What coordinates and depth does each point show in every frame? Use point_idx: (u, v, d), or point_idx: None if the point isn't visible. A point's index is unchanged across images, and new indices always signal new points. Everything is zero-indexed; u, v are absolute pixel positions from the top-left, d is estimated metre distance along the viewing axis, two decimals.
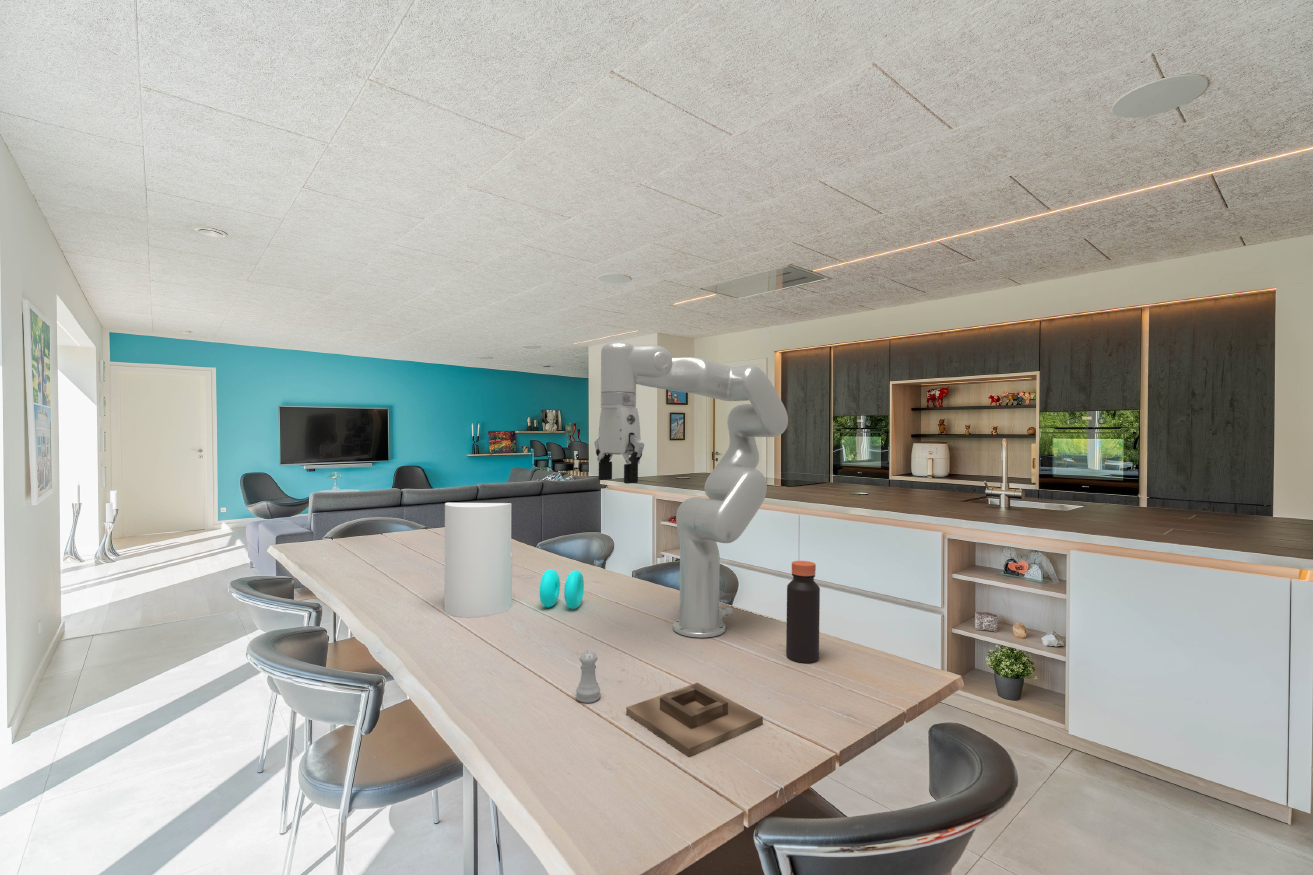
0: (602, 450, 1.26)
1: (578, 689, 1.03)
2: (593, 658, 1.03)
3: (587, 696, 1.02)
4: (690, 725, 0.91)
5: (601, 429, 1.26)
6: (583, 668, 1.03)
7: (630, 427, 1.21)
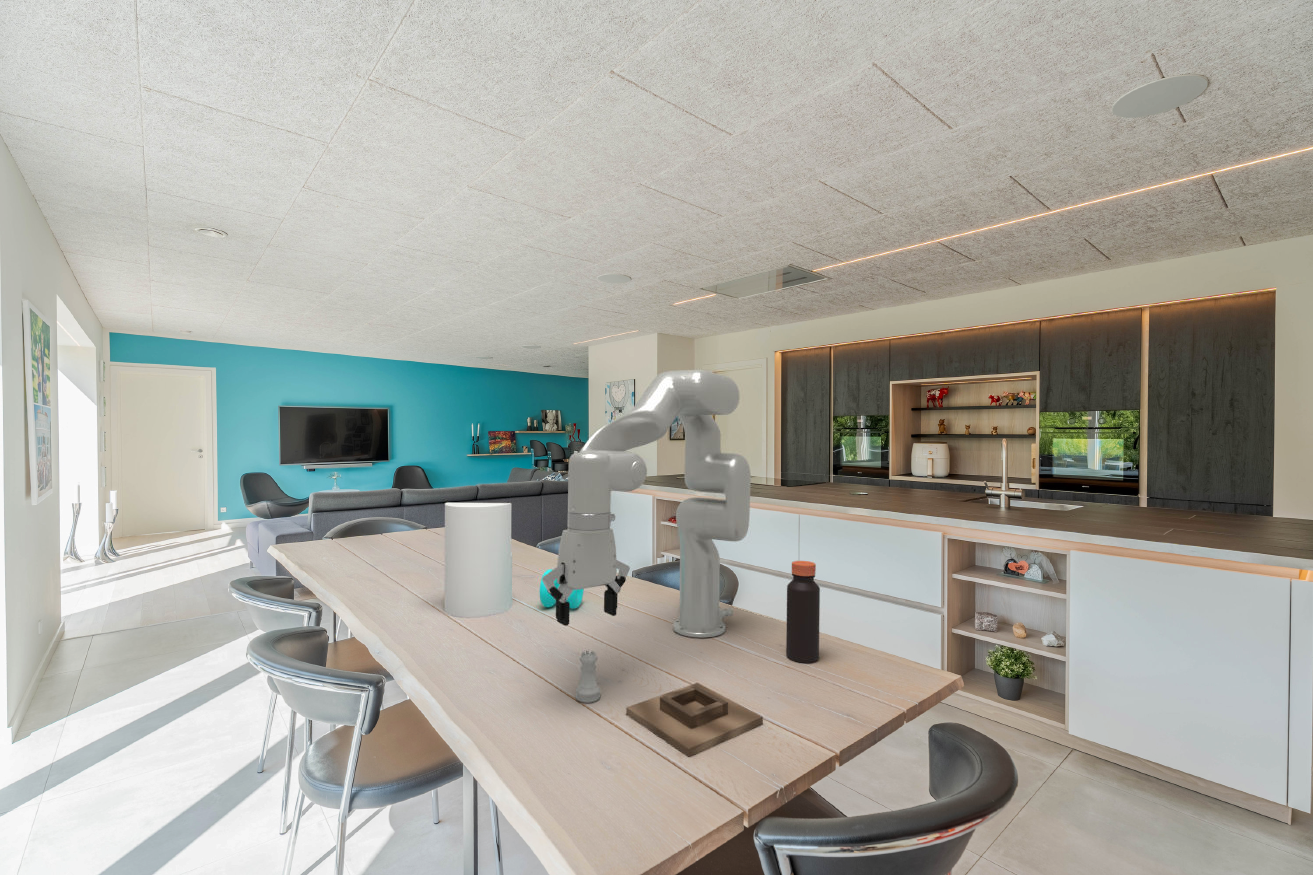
0: (579, 586, 1.00)
1: (578, 689, 1.03)
2: (593, 658, 1.03)
3: (587, 696, 1.02)
4: (690, 725, 0.91)
5: (580, 559, 1.00)
6: (583, 668, 1.03)
7: None
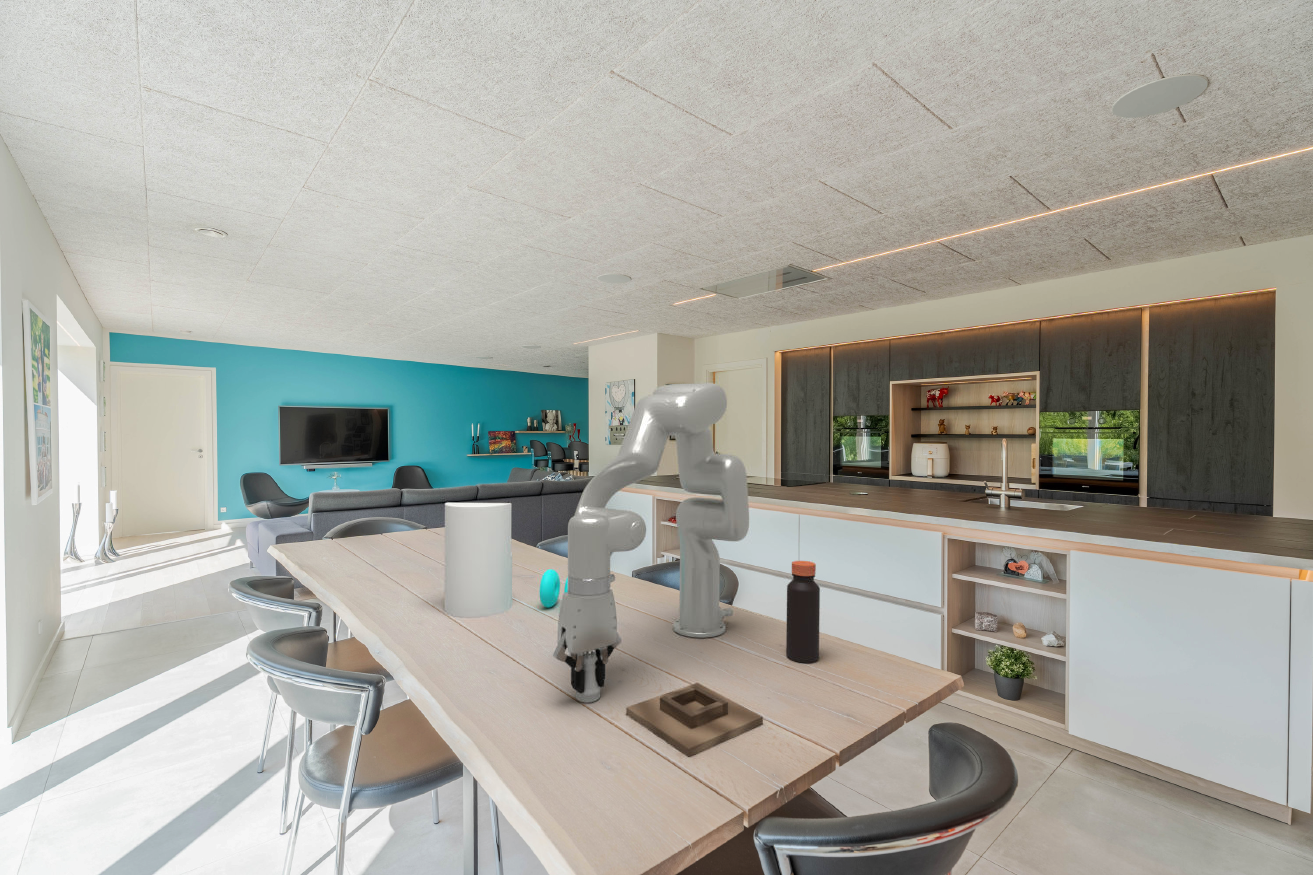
0: (579, 650, 1.01)
1: None
2: (593, 658, 1.03)
3: (587, 696, 1.02)
4: (690, 725, 0.91)
5: (580, 625, 1.00)
6: (583, 668, 1.03)
7: None
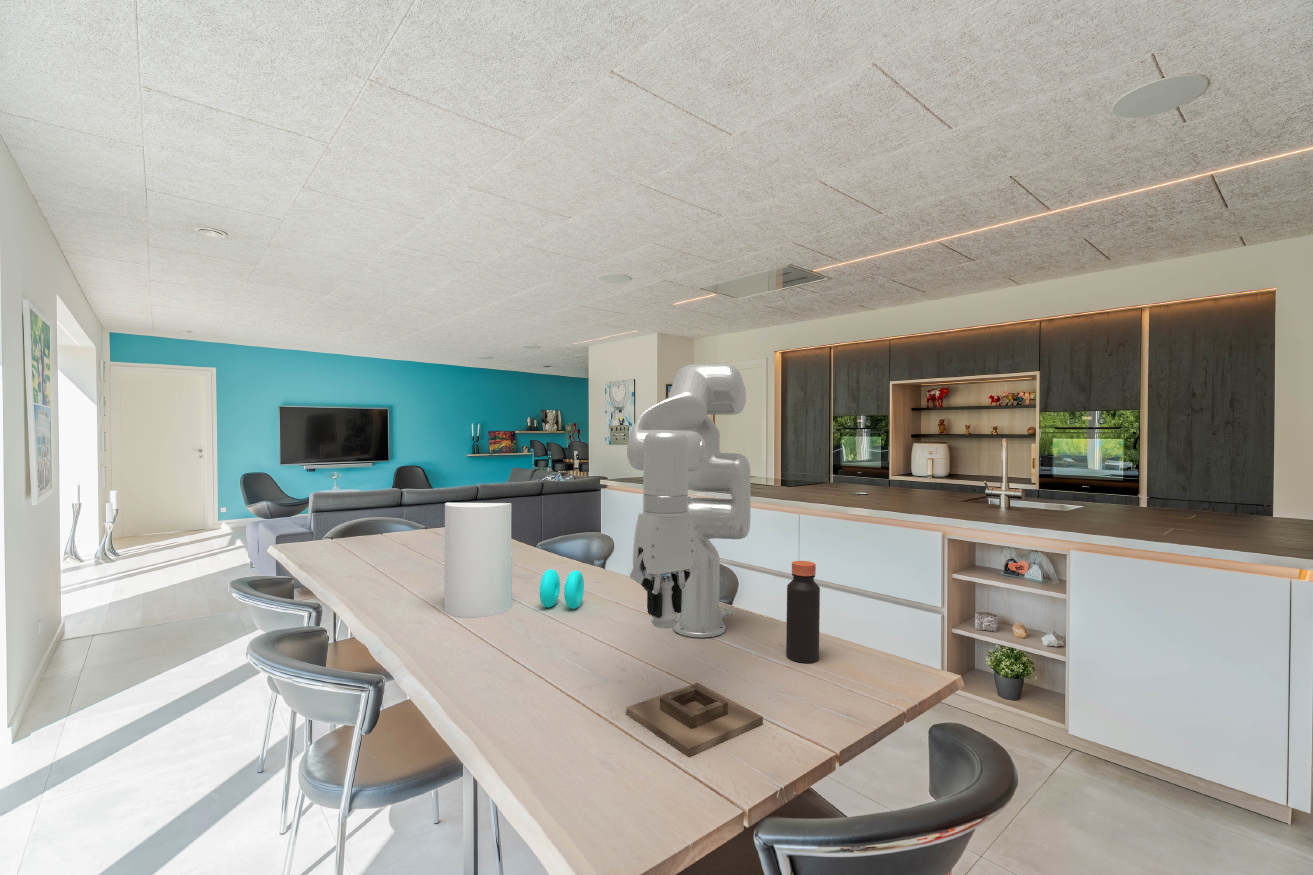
0: (657, 572, 0.95)
1: None
2: (670, 582, 0.98)
3: (664, 621, 0.97)
4: (690, 725, 0.91)
5: (659, 544, 0.95)
6: (660, 592, 0.98)
7: None
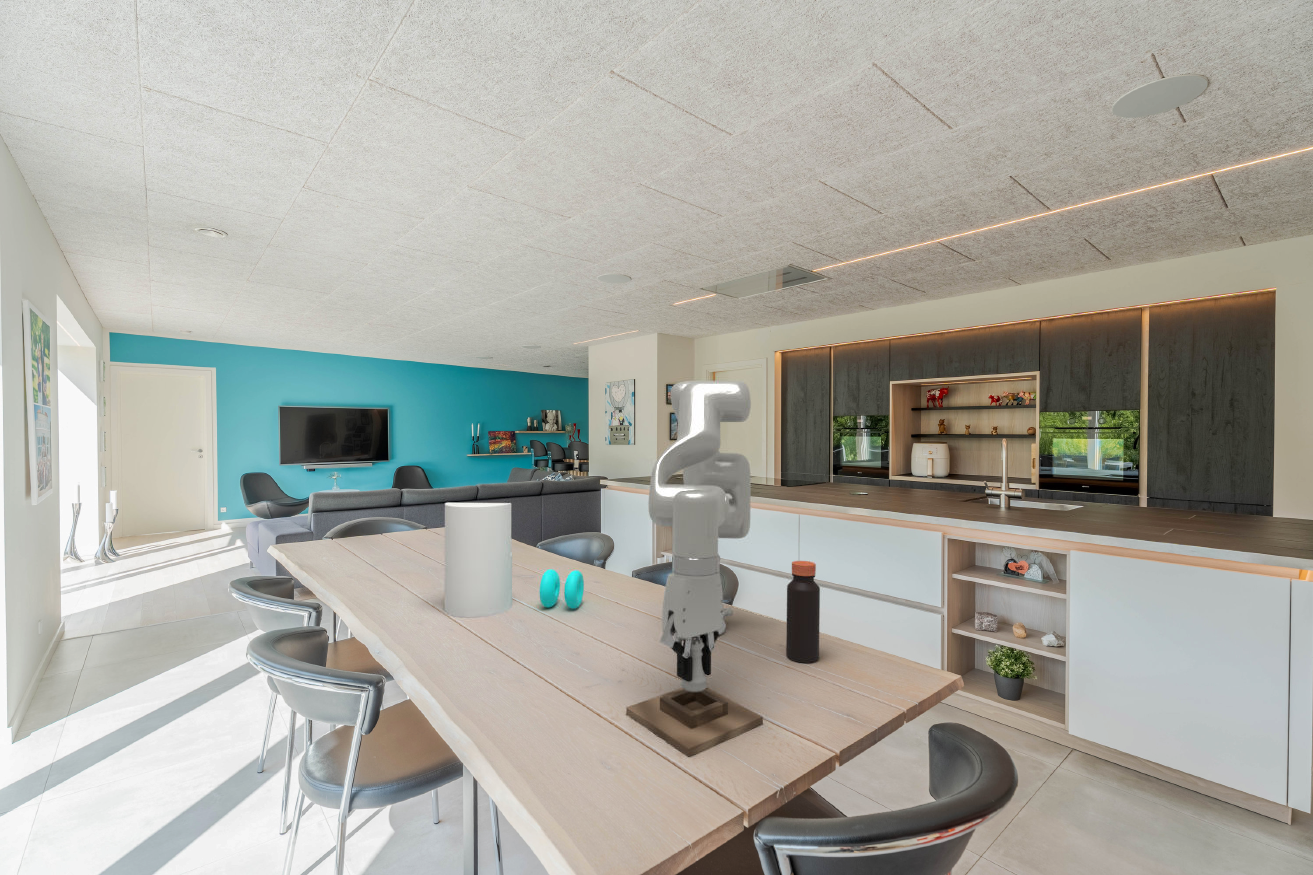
0: (688, 635, 0.93)
1: None
2: (700, 644, 0.96)
3: (695, 685, 0.95)
4: (690, 725, 0.91)
5: (690, 607, 0.93)
6: (690, 655, 0.96)
7: None
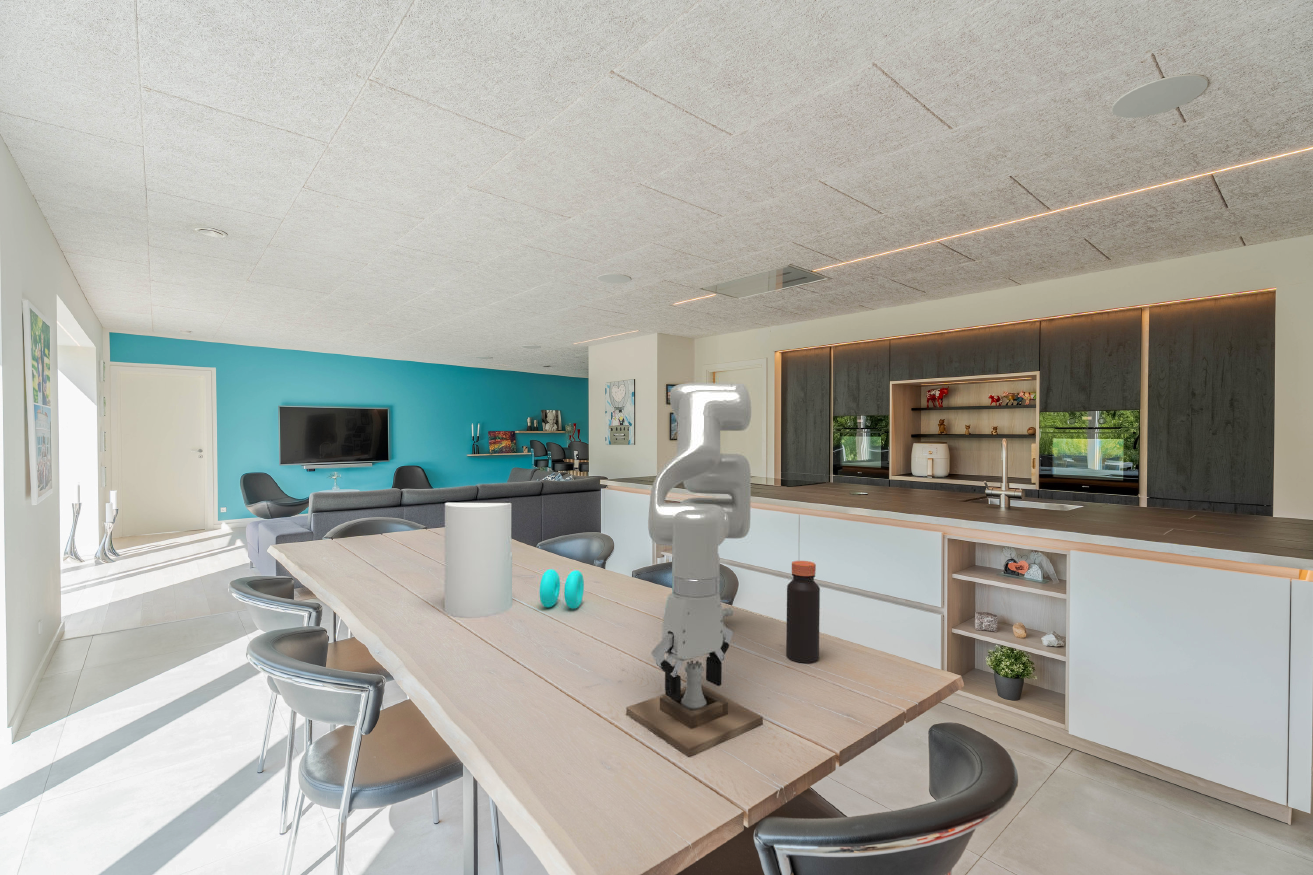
0: (688, 656, 0.93)
1: (684, 702, 0.96)
2: (700, 668, 0.96)
3: (695, 709, 0.95)
4: (690, 725, 0.91)
5: (689, 629, 0.93)
6: (689, 679, 0.96)
7: None
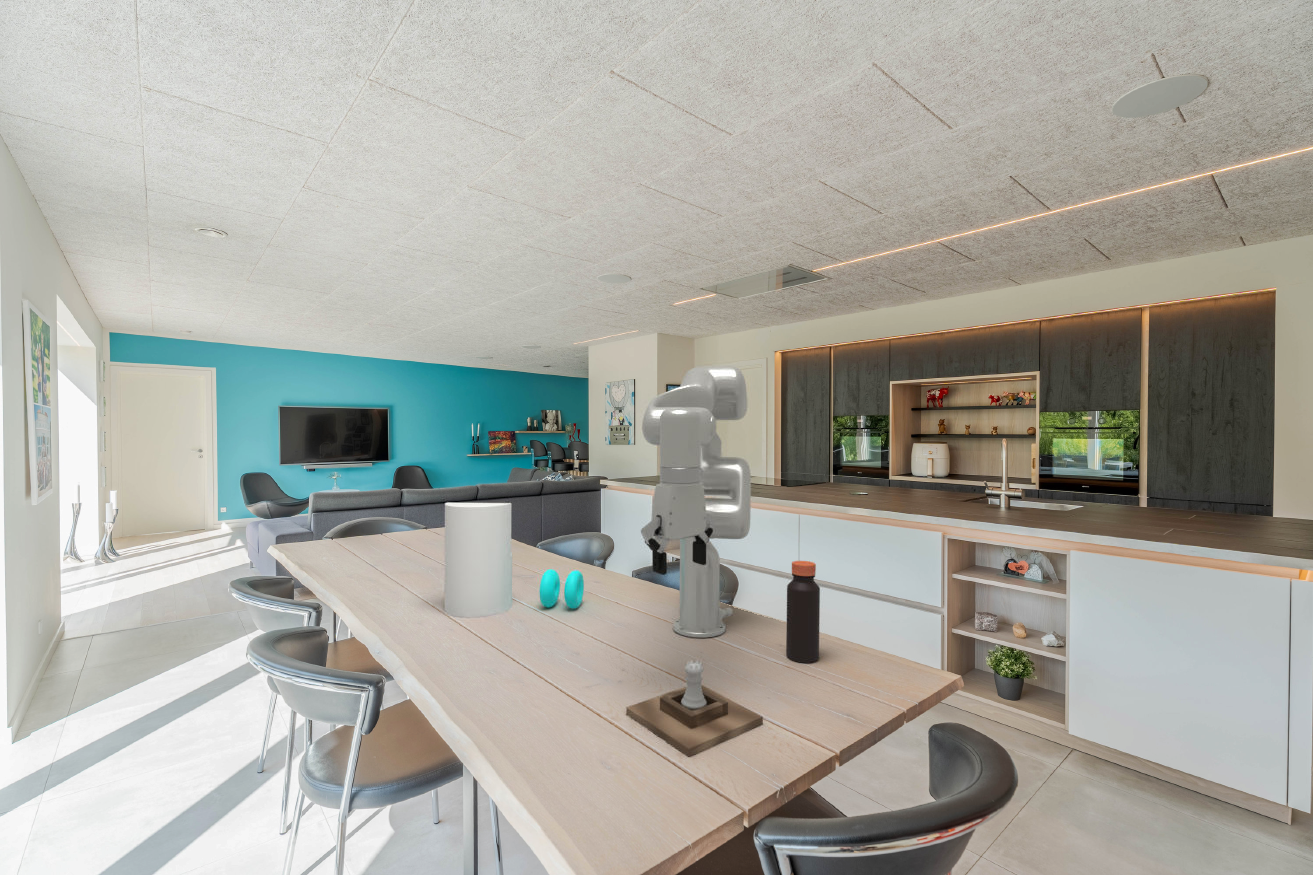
0: (675, 537, 1.04)
1: (684, 702, 0.96)
2: (700, 668, 0.96)
3: (695, 709, 0.95)
4: (690, 725, 0.91)
5: (676, 512, 1.04)
6: (689, 679, 0.96)
7: None
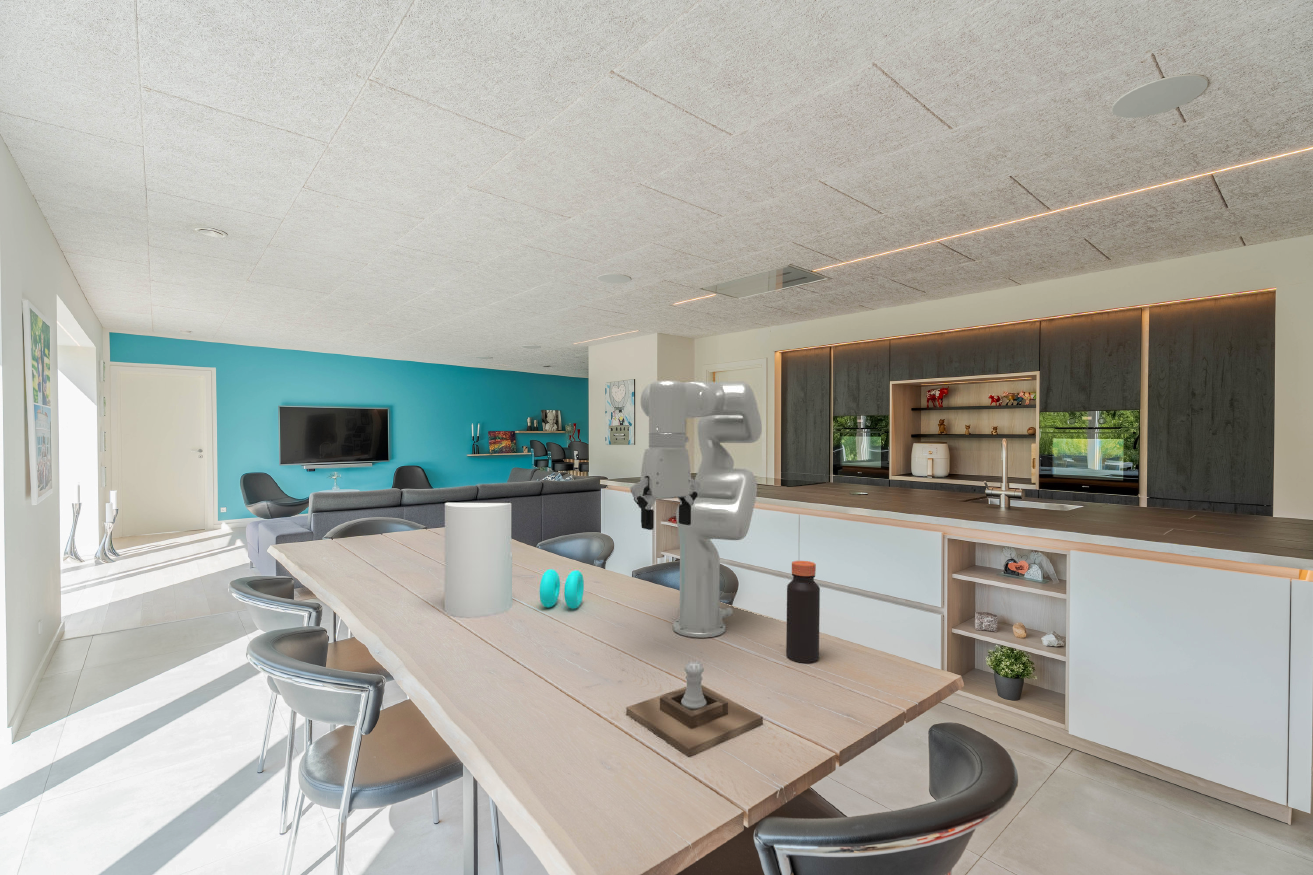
0: (661, 496, 1.15)
1: (684, 702, 0.96)
2: (700, 668, 0.96)
3: (695, 709, 0.95)
4: (690, 725, 0.91)
5: (662, 473, 1.15)
6: (689, 679, 0.96)
7: None
